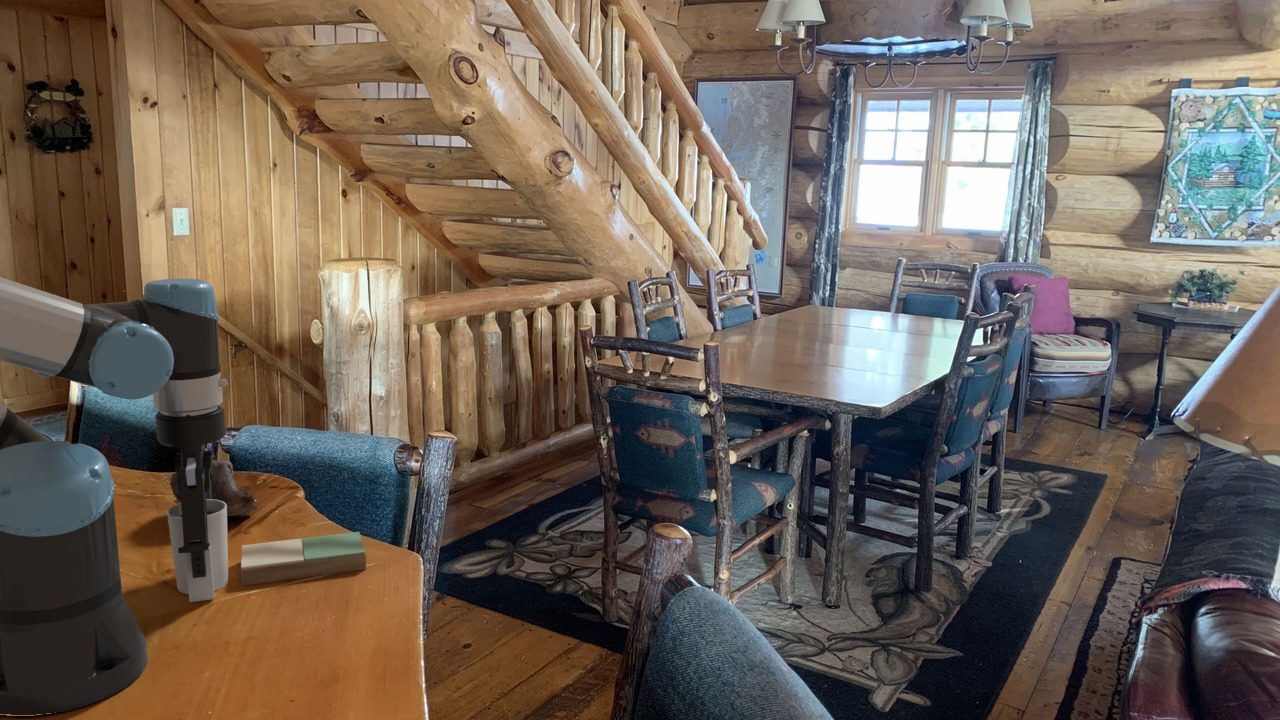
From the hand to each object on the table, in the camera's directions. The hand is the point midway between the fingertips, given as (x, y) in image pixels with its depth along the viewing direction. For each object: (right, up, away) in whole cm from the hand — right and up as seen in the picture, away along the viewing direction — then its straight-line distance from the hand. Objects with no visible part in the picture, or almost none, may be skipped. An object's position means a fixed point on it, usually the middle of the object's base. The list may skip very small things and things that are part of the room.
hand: (204, 582), depth 119 cm
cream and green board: (+10, +1, +6) cm, 12 cm away
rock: (-9, +4, +23) cm, 25 cm away
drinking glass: (0, 0, 0) cm, 0 cm away
